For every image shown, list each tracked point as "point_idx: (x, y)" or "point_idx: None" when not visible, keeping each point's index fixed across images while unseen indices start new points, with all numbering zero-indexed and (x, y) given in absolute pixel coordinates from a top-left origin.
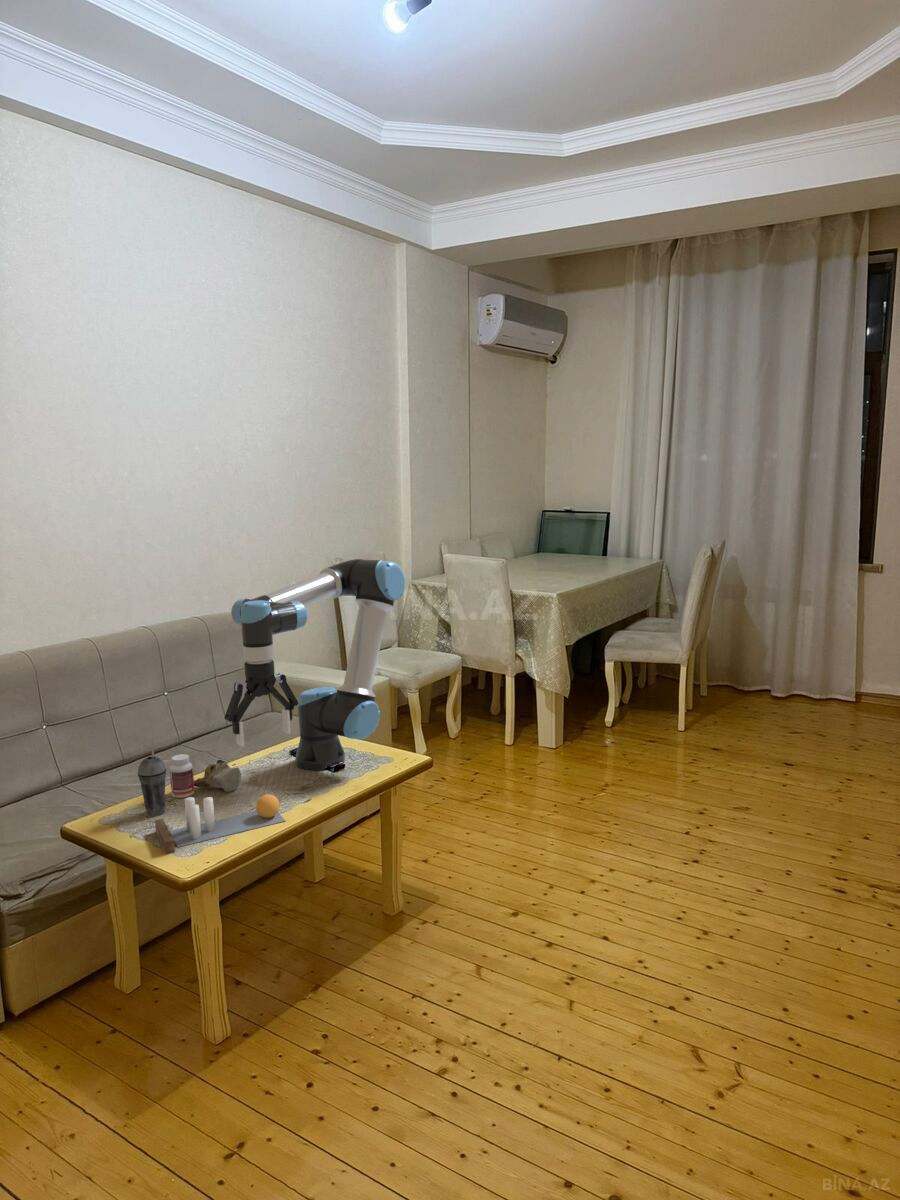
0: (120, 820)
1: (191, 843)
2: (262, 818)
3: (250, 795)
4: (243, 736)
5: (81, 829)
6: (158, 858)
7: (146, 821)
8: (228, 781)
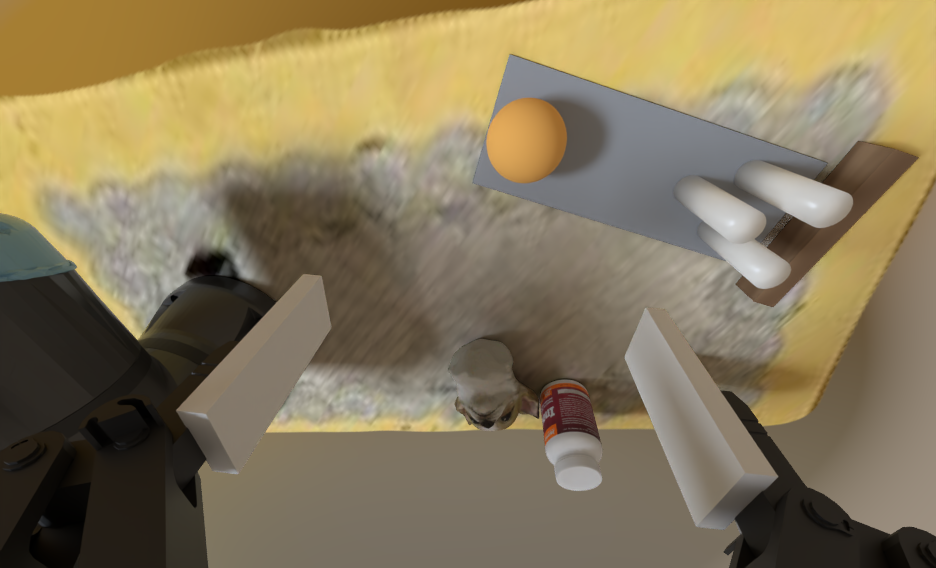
0: (731, 383)
1: (790, 151)
2: None
3: (469, 293)
4: (677, 354)
5: (802, 401)
6: (917, 139)
7: (712, 346)
8: (496, 356)
